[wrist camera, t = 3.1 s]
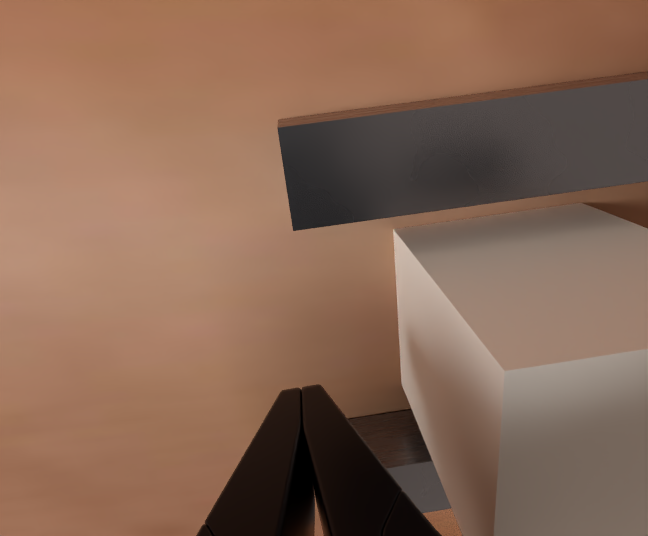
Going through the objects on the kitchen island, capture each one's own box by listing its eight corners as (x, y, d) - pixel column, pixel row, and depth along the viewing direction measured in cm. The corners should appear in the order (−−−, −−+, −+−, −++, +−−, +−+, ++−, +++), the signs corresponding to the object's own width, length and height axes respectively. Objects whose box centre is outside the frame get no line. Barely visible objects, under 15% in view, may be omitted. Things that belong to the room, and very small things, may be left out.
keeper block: (559, 358, 13) (758, 553, 8) (401, 383, 13) (489, 601, 7) (579, 202, 11) (869, 314, 6) (392, 228, 11) (505, 371, 5)
